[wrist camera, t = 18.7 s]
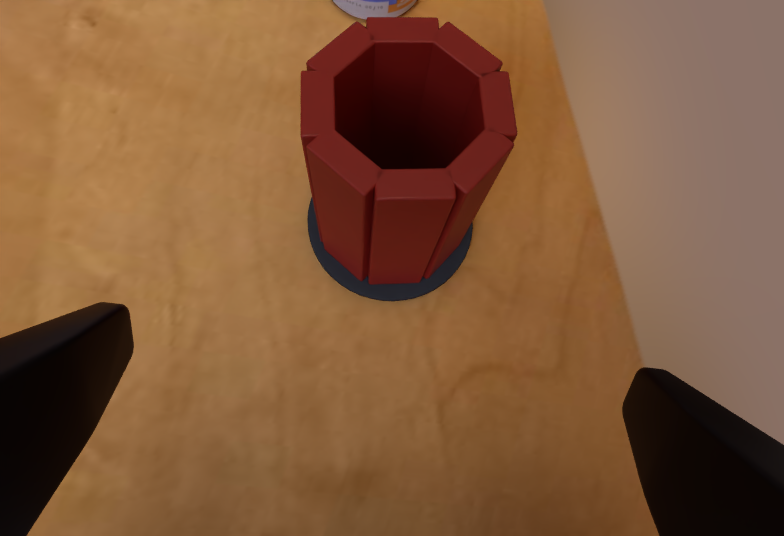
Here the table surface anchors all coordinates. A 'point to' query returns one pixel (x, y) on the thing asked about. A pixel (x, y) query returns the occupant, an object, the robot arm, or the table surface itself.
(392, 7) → the pill bottle
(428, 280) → the mat
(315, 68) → the red octagonal container
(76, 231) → the table surface
